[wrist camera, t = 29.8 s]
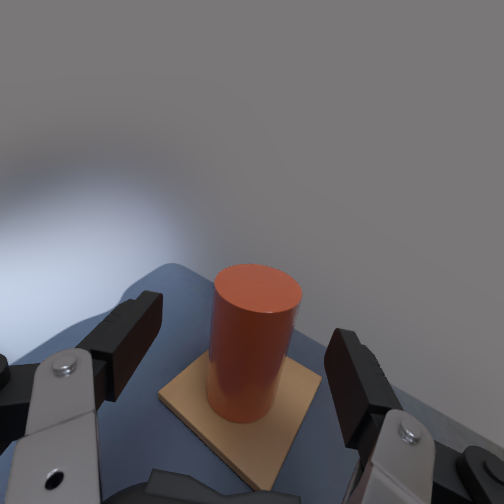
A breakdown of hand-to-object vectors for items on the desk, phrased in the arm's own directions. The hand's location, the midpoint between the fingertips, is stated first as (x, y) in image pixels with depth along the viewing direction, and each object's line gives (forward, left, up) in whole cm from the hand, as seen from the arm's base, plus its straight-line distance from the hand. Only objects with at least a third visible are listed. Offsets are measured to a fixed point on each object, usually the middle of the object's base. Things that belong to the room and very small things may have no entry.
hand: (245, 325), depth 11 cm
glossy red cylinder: (-5, -2, -11) cm, 12 cm away
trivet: (-5, -2, -11) cm, 13 cm away
